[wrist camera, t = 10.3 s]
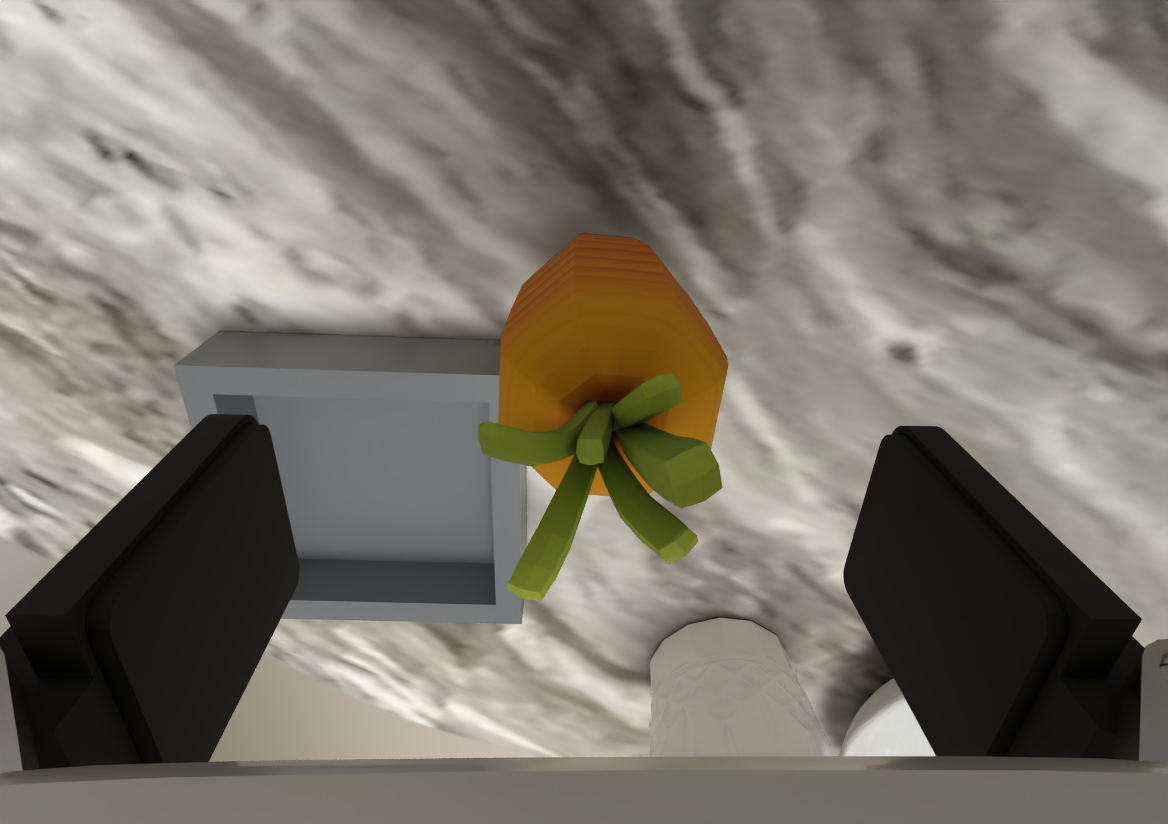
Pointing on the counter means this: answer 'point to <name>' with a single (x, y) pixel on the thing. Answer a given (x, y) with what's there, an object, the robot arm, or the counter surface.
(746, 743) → the white cup
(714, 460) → the carrot
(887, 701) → the spoon rest
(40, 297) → the counter surface
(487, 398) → the tray
